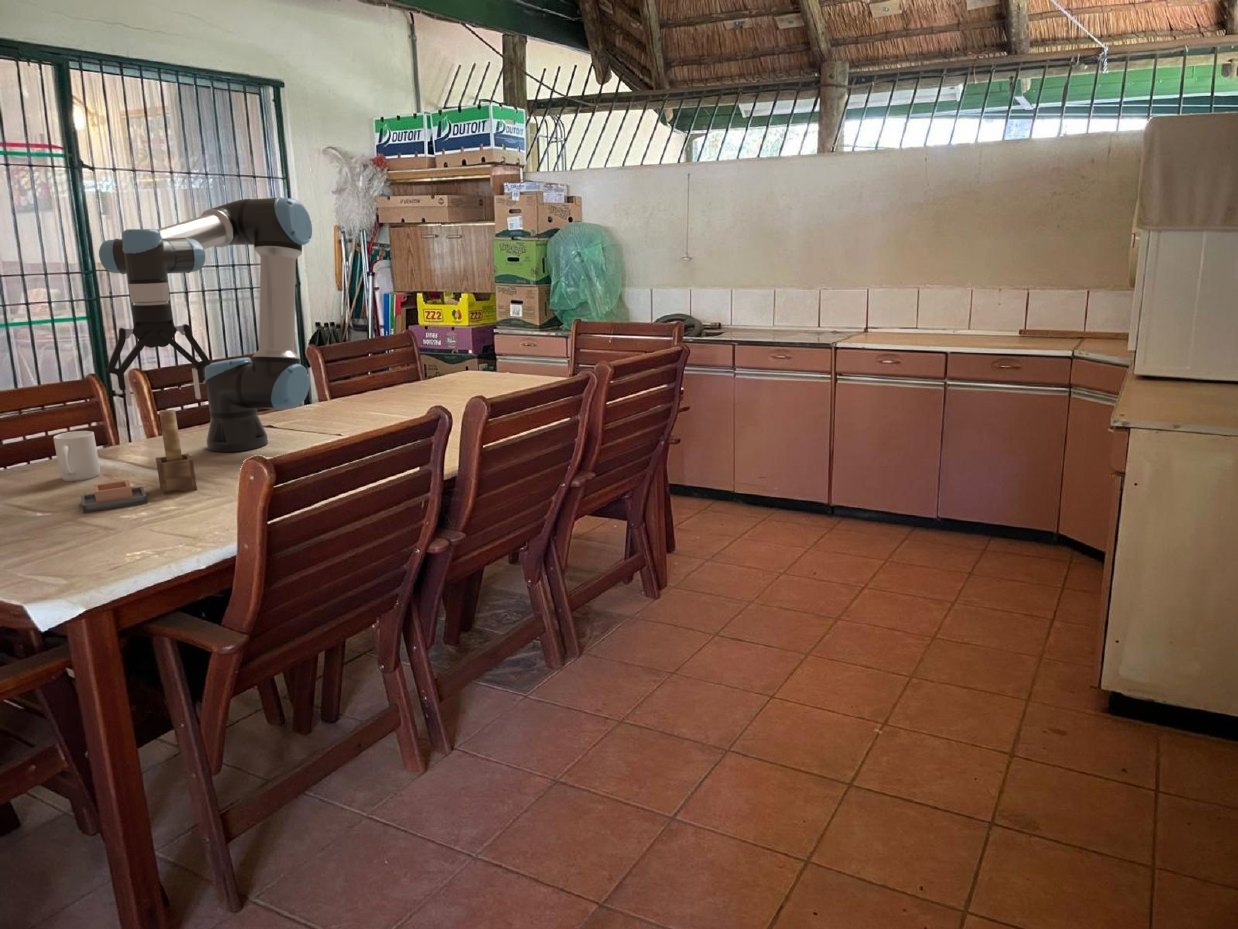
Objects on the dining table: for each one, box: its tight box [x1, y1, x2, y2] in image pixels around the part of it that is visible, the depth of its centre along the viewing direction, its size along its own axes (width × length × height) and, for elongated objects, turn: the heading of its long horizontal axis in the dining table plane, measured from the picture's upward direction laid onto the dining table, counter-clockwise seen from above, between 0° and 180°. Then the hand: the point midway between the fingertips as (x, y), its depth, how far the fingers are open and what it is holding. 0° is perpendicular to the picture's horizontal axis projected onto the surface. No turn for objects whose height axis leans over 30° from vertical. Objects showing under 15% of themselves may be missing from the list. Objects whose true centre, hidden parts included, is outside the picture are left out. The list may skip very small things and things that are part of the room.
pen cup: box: [155, 453, 198, 495], centre depth 207 cm, size 7×7×7 cm
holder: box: [92, 479, 133, 503], centre depth 197 cm, size 7×7×3 cm
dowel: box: [158, 409, 183, 462], centre depth 205 cm, size 3×3×17 cm
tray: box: [80, 486, 149, 514], centre depth 197 cm, size 12×9×2 cm
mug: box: [53, 430, 101, 482], centre depth 216 cm, size 12×8×10 cm
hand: (164, 401), depth 202 cm, fingers open, 13 cm apart
